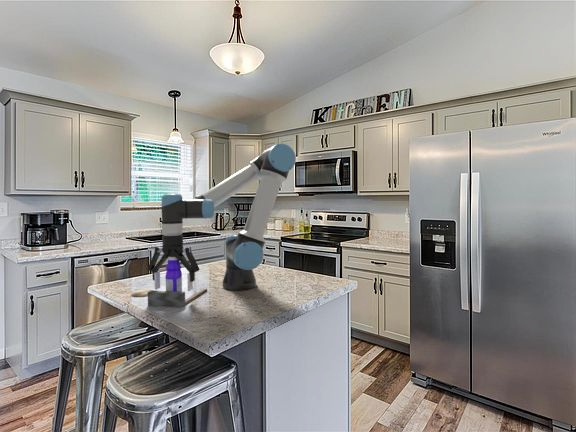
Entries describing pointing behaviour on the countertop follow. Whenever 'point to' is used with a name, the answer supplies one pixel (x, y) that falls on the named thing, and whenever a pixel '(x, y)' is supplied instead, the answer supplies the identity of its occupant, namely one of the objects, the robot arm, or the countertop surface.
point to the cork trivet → (140, 293)
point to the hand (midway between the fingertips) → (173, 289)
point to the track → (170, 298)
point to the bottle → (173, 275)
